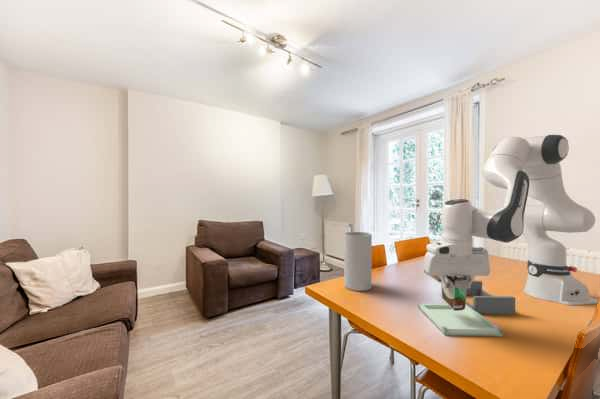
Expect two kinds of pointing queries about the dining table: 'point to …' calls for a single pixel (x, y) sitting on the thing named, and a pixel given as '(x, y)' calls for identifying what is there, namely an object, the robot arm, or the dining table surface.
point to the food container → (455, 291)
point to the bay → (489, 301)
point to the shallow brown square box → (434, 277)
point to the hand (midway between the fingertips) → (456, 287)
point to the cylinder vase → (358, 261)
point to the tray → (459, 321)
